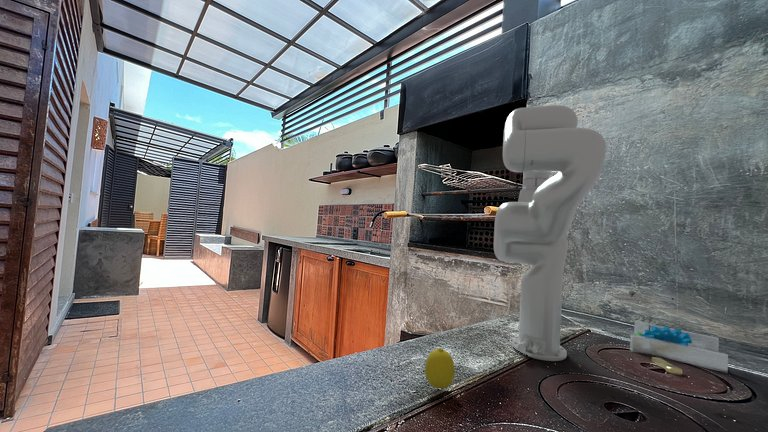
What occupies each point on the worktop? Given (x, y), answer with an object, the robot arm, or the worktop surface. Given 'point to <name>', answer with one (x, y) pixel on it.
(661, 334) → the blue green toy animal
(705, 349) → the channel
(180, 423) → the worktop surface
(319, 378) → the worktop surface
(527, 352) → the robot arm
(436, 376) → the lemon
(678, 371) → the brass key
